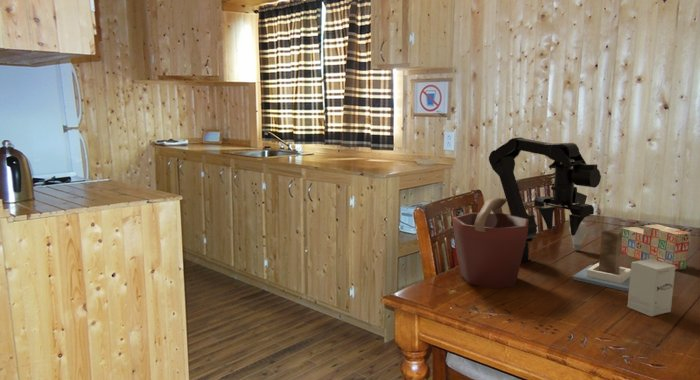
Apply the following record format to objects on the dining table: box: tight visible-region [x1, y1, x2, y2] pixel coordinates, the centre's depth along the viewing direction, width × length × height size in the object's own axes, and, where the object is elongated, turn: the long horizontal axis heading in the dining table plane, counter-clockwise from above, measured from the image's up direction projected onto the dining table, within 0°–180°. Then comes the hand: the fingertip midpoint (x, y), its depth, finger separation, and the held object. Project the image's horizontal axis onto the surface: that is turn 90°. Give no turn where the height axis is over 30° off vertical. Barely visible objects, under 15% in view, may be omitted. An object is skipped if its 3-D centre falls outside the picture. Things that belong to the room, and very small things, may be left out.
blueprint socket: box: [571, 262, 631, 293], centre depth 159 cm, size 16×16×3 cm
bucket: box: [452, 197, 528, 289], centre depth 158 cm, size 24×22×25 cm
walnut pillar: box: [598, 228, 622, 275], centre depth 158 cm, size 4×4×14 cm
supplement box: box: [627, 259, 676, 317], centre depth 134 cm, size 7×7×13 cm
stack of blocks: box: [621, 223, 691, 271], centre depth 177 cm, size 21×6×12 cm, turn 18°
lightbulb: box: [568, 221, 589, 251], centre depth 189 cm, size 6×6×11 cm
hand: (561, 232), depth 164 cm, fingers open, 9 cm apart
